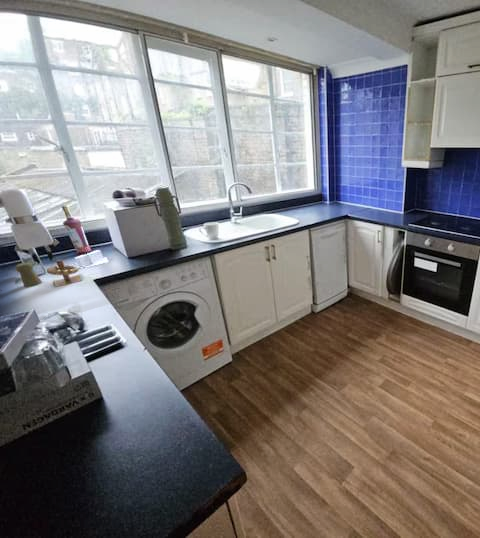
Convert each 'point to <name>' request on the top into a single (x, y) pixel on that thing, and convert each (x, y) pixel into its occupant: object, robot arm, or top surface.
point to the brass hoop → (57, 271)
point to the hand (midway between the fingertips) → (45, 261)
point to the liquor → (75, 232)
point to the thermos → (170, 218)
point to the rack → (66, 276)
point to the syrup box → (32, 262)
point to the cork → (28, 274)
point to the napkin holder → (91, 259)
